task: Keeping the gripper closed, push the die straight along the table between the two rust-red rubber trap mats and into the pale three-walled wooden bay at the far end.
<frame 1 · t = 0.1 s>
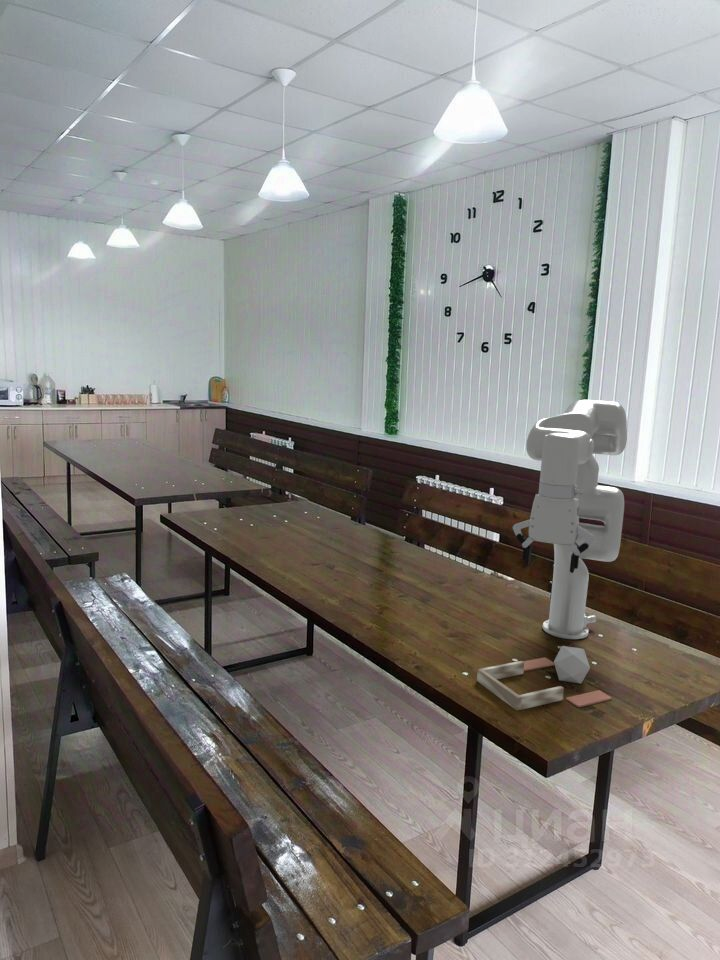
hand: (549, 567, 156), 31 cm above the table, tool pointing down, fingers open, 9 cm apart
die: (569, 680, 172), on the table
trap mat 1: (534, 664, 179), on the table
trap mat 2: (588, 699, 163), on the table
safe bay: (520, 689, 166), on the table
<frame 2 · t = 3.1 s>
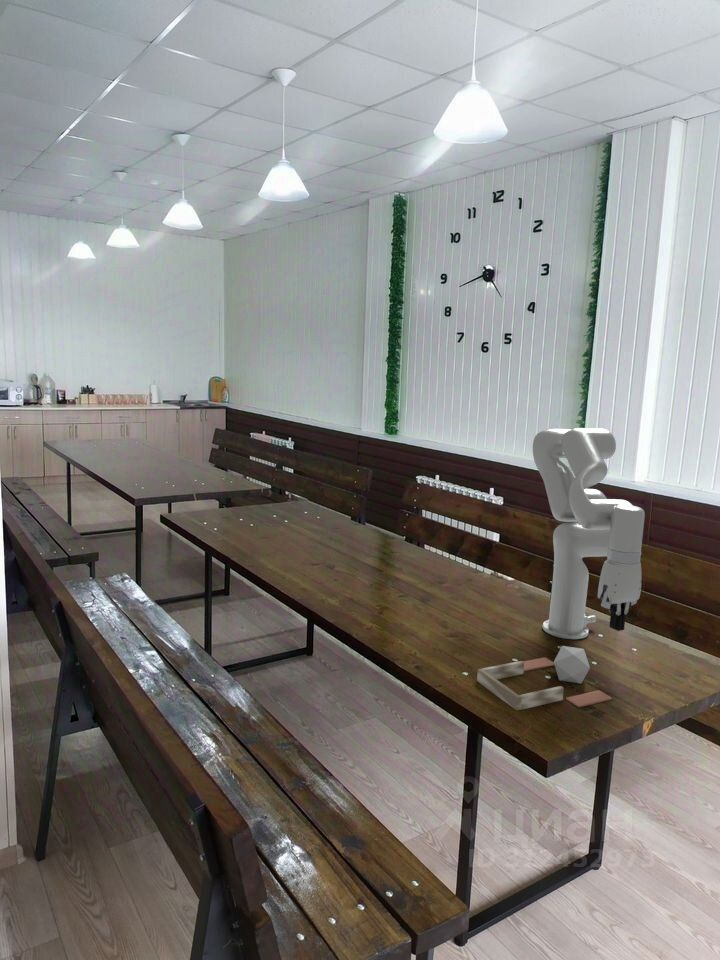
hand: (616, 628, 175), 11 cm above the table, tool pointing down, fingers closed
nothing on the table moved.
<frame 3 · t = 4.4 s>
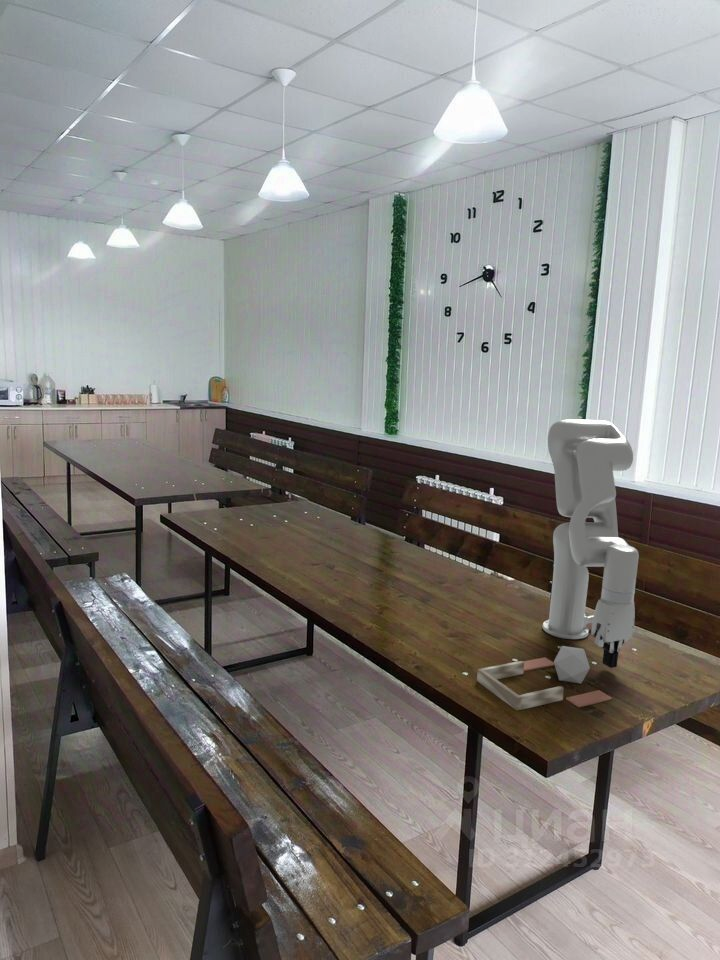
hand: (609, 665, 178), 2 cm above the table, tool pointing down, fingers closed
nothing on the table moved.
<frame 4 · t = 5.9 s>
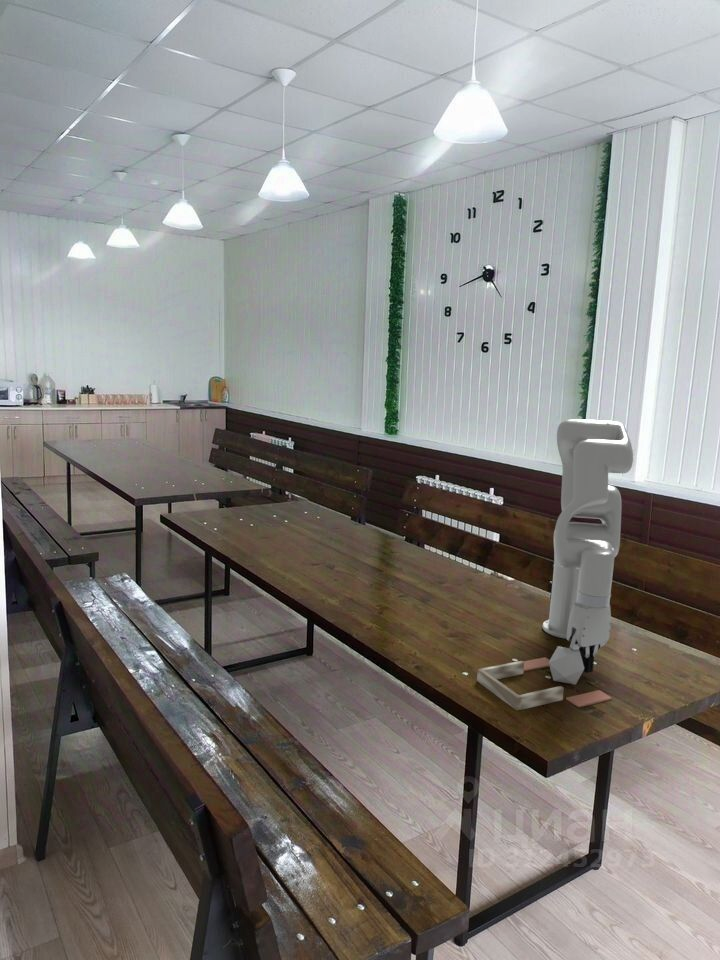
hand: (585, 670, 174), 2 cm above the table, tool pointing down, fingers closed
die: (564, 681, 172), on the table, touching gripper
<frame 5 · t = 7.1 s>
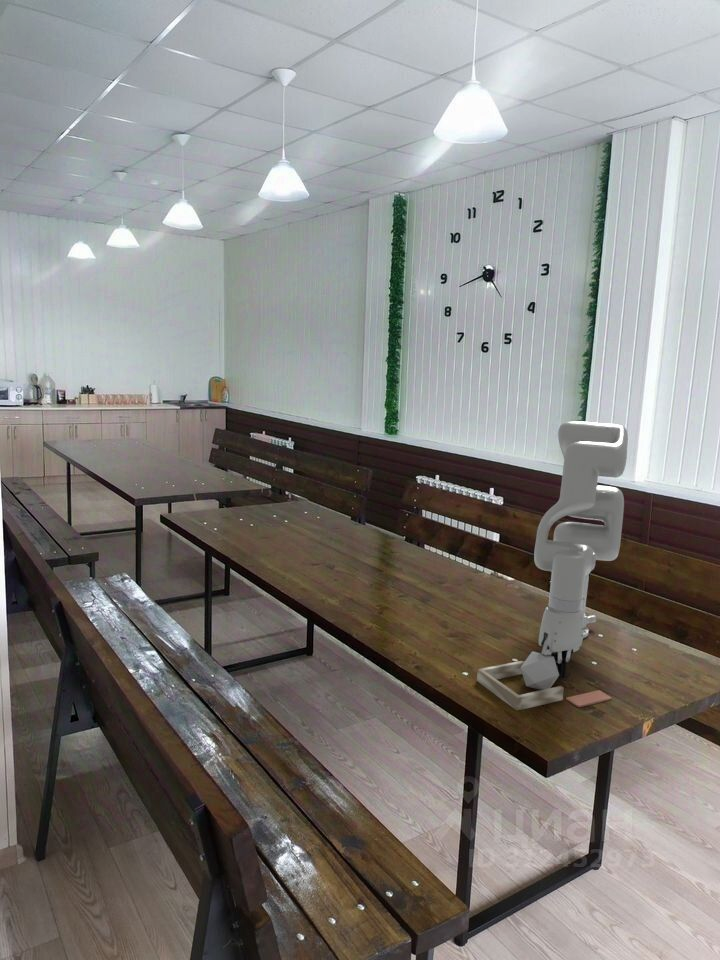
hand: (558, 675, 170), 2 cm above the table, tool pointing down, fingers closed
die: (538, 687, 168), on the table, touching gripper
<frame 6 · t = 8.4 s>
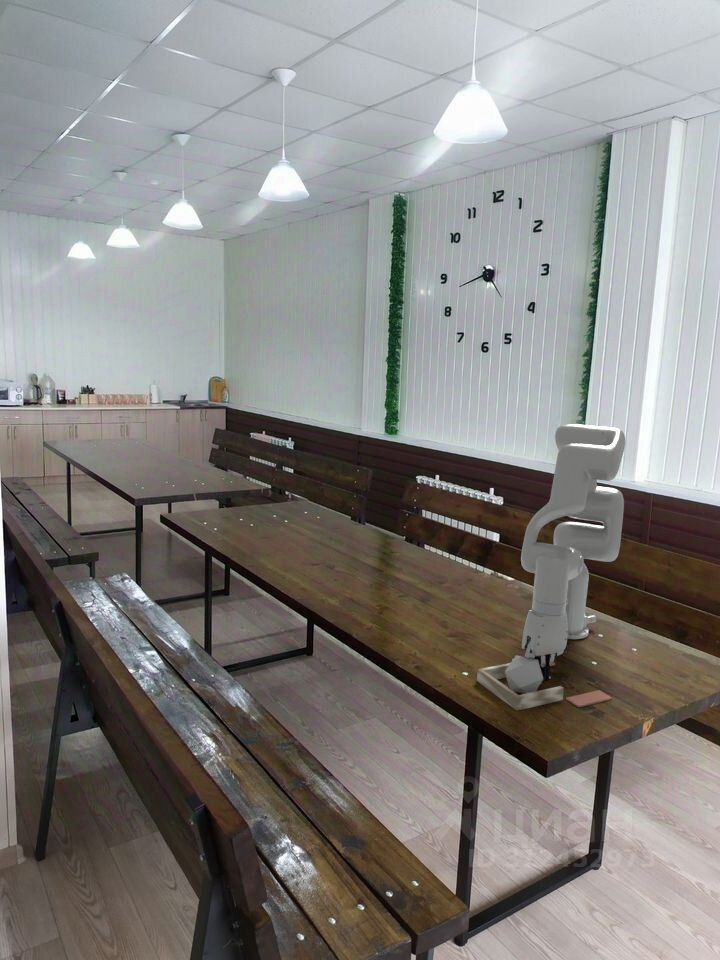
hand: (541, 679, 168), 1 cm above the table, tool pointing down, fingers closed
die: (522, 691, 165), on the table, touching gripper
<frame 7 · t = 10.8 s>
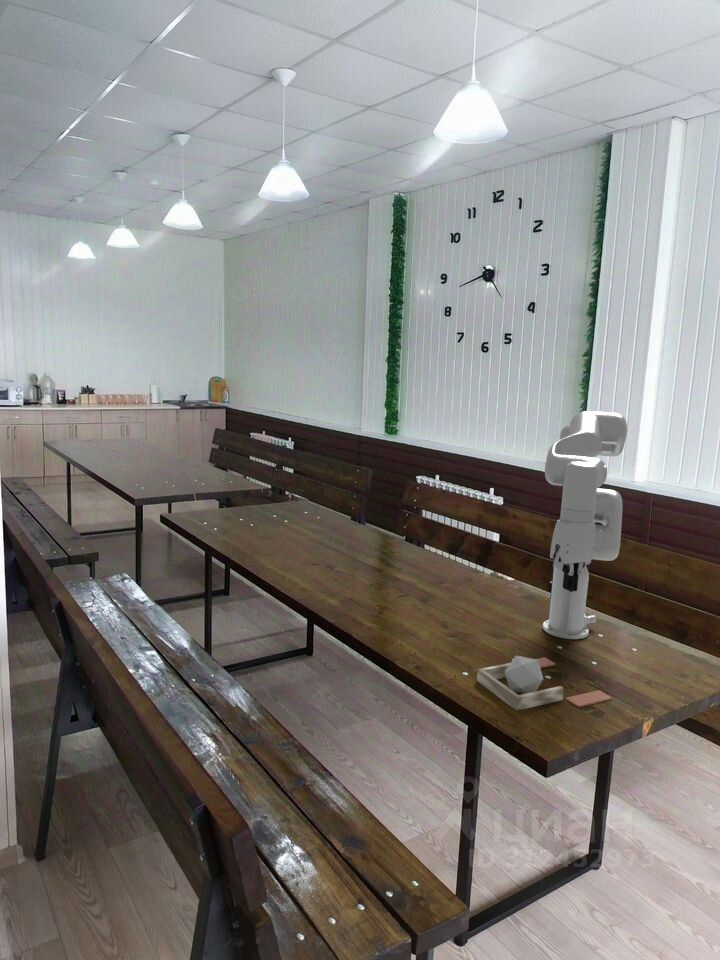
hand: (569, 589, 169), 22 cm above the table, tool pointing down, fingers closed
die: (522, 691, 165), on the table
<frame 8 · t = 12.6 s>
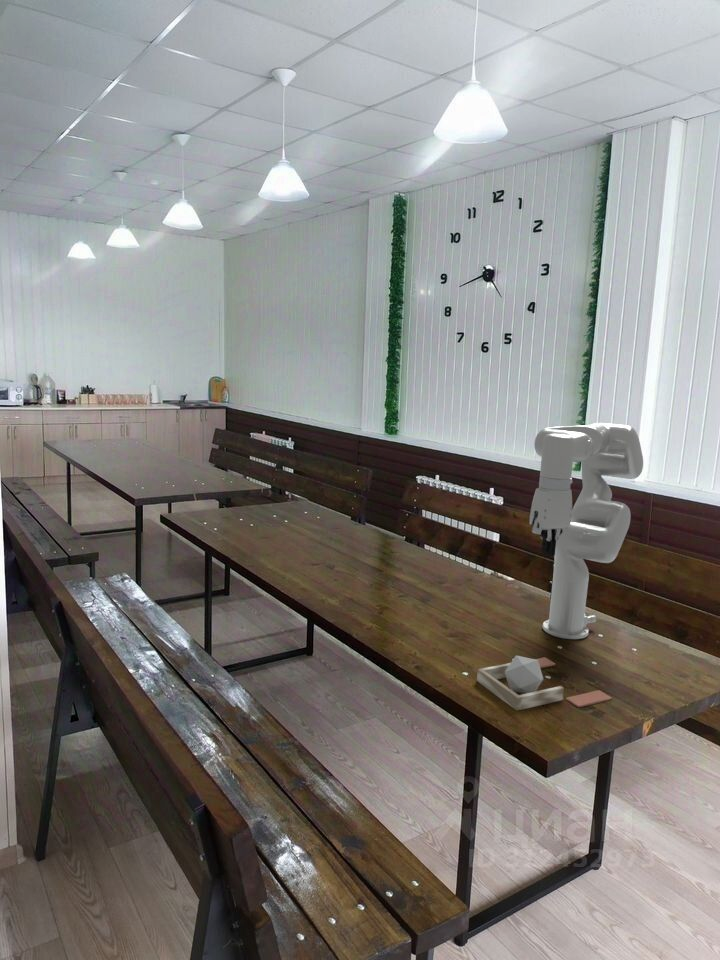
hand: (548, 554, 181), 27 cm above the table, tool pointing down, fingers closed
nothing on the table moved.
at the end: die inside the target area on the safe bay (2.5 cm from its centre), point 0.0 cm above the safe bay's base; die touching table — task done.
